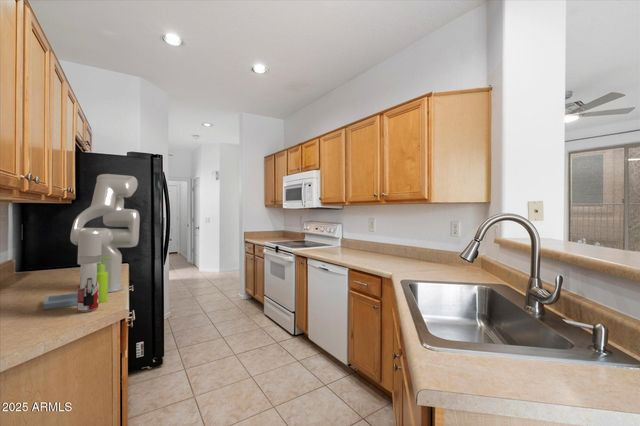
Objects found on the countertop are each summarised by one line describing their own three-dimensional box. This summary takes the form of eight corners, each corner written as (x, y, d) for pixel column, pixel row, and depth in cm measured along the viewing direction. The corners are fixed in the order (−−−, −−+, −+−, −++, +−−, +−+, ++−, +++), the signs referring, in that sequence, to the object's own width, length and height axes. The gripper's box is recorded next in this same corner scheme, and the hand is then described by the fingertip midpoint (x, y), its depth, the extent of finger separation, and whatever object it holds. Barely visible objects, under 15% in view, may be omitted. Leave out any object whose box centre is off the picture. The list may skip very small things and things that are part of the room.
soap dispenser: (109, 302, 127) (111, 258, 127) (89, 304, 124) (91, 259, 124) (110, 298, 132) (112, 256, 132) (91, 300, 128) (93, 257, 129)
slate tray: (45, 302, 124) (45, 296, 124) (83, 297, 133) (84, 291, 133) (43, 310, 115) (43, 304, 115) (84, 304, 123) (85, 298, 123)
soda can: (86, 313, 112) (87, 283, 112) (72, 311, 114) (73, 282, 114) (102, 308, 119) (103, 279, 119) (89, 306, 120) (90, 278, 120)
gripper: (77, 257, 120) (75, 299, 120) (78, 264, 107) (76, 311, 107) (99, 255, 125) (98, 296, 125) (102, 262, 112) (101, 307, 112)
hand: (88, 302), depth 116 cm, fingers closed on soda can, 6 cm apart
